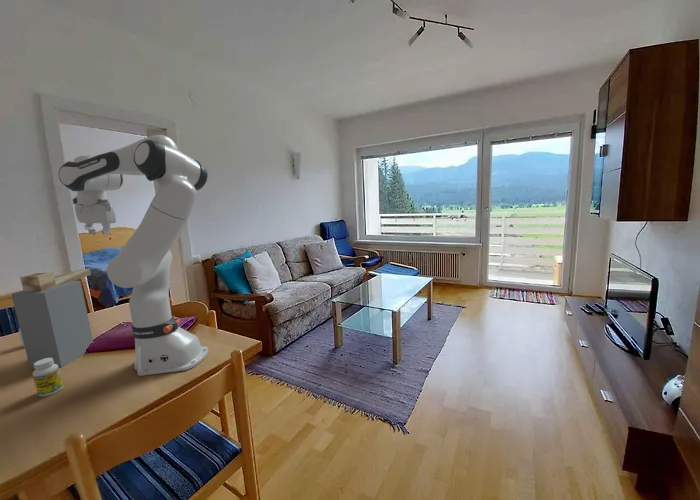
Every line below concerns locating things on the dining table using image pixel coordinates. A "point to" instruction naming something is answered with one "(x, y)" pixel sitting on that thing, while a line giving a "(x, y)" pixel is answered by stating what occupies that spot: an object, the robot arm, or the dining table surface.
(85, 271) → the mallet
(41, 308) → the pedestal
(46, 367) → the supplement bottle
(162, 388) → the dining table surface
